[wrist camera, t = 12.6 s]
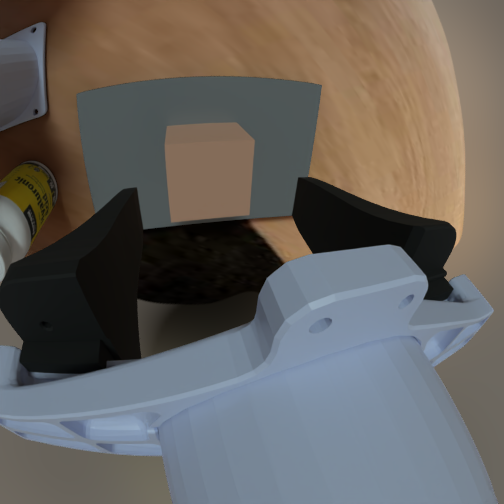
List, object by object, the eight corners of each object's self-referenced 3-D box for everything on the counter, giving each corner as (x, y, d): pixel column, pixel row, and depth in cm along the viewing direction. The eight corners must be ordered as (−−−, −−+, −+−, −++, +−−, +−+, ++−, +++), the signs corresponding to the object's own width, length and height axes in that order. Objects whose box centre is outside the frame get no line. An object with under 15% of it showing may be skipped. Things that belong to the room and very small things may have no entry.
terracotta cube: (170, 188, 20) (171, 222, 16) (167, 126, 17) (164, 145, 13) (233, 183, 21) (249, 215, 18) (236, 122, 18) (254, 140, 15)
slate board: (103, 226, 22) (101, 234, 21) (81, 92, 14) (76, 93, 13) (296, 208, 26) (301, 214, 25) (314, 83, 19) (321, 85, 18)
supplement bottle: (69, 200, 19) (29, 280, 12) (29, 223, 19) (-12, 301, 12) (42, 147, 16) (-22, 208, 8) (2, 176, 15) (-56, 243, 8)
